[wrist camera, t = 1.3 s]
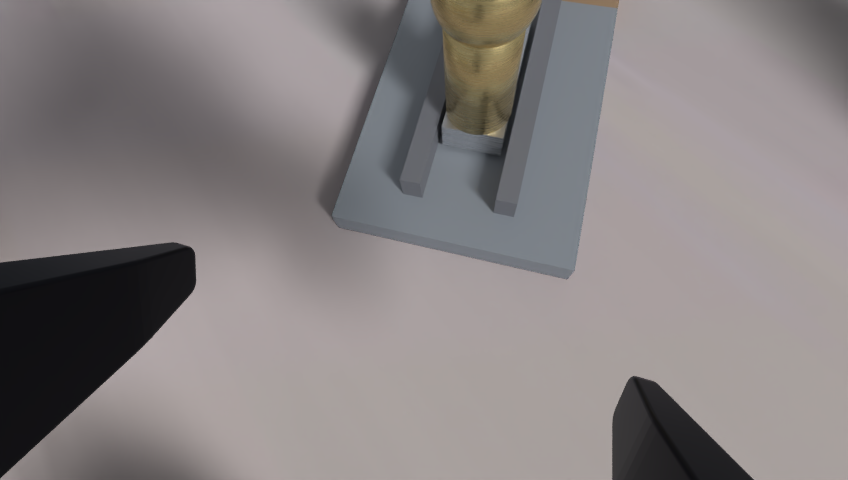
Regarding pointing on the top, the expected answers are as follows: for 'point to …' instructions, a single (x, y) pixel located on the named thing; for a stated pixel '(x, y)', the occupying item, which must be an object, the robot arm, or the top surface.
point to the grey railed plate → (476, 171)
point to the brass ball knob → (482, 67)
